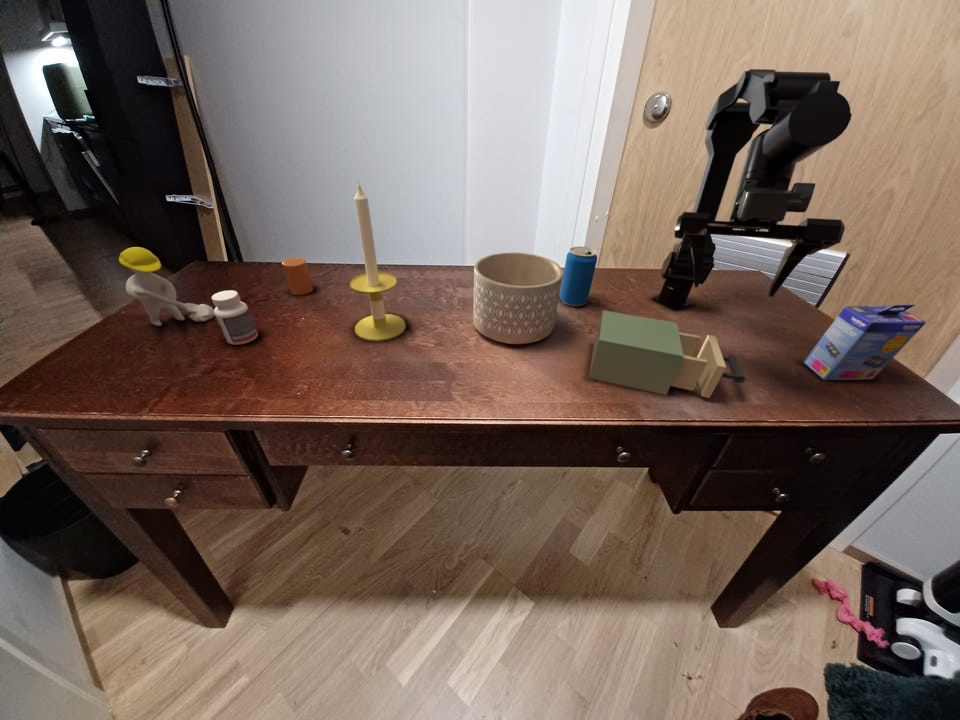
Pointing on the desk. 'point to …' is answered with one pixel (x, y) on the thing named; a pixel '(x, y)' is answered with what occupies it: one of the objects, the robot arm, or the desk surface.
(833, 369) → the ink cartridge box
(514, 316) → the planter
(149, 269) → the figurine
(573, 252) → the beverage can
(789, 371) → the desk surface
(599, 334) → the cabinet
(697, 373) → the drawer
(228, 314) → the pill bottle
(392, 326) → the candle
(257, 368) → the desk surface
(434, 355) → the desk surface
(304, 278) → the orange cylinder
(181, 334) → the desk surface
